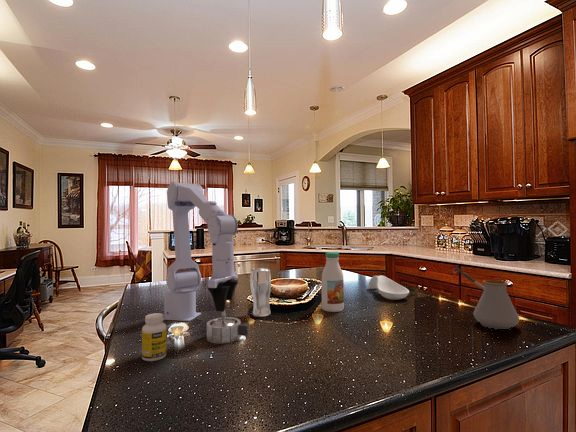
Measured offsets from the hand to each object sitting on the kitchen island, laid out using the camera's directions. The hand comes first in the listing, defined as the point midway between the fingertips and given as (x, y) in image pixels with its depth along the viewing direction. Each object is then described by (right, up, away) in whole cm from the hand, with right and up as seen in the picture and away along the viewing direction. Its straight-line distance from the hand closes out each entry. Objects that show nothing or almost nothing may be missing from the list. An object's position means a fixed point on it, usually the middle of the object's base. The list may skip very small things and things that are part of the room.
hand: (223, 308), depth 89 cm
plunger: (0, -4, 0) cm, 4 cm away
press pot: (+1, -8, 0) cm, 8 cm away
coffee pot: (+77, -7, +12) cm, 79 cm away
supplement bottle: (-14, -8, -12) cm, 20 cm away
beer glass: (+9, -8, +21) cm, 24 cm away
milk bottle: (+33, -8, +25) cm, 43 cm away
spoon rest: (+58, -8, +46) cm, 74 cm away
